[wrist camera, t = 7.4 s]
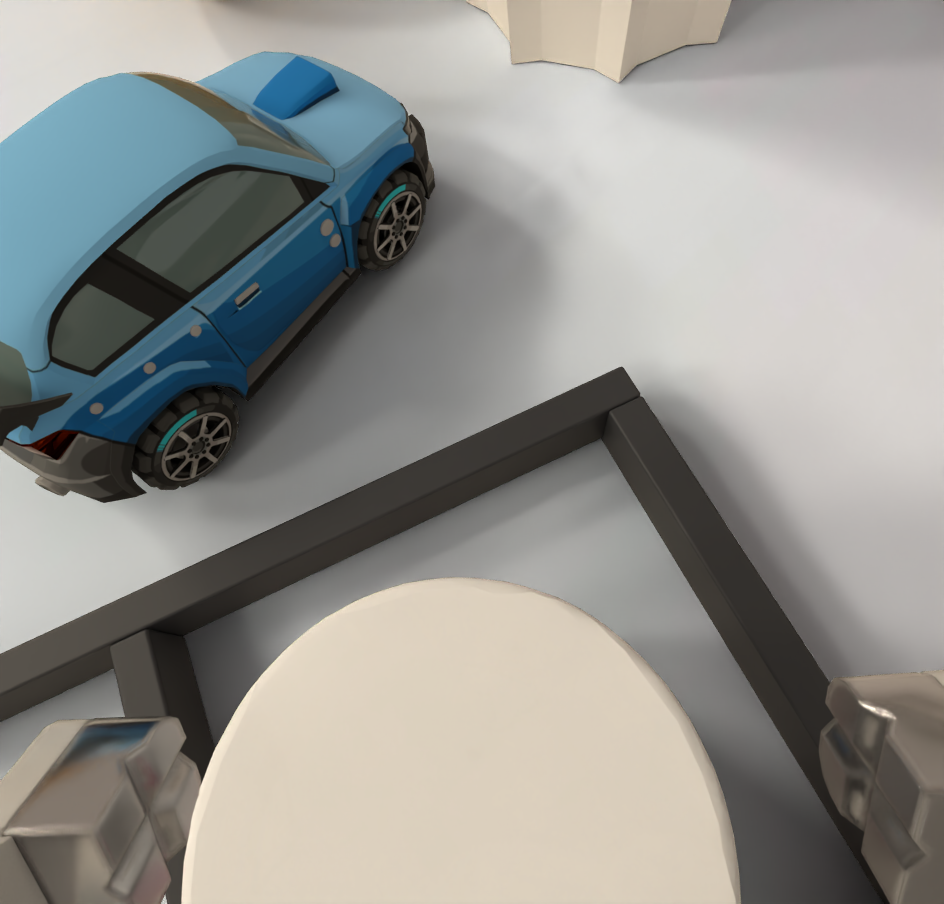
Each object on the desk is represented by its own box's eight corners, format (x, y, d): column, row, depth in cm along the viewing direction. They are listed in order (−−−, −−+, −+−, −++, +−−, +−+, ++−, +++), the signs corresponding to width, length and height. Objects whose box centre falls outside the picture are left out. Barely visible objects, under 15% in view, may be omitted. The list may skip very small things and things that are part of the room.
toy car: (469, 203, 17) (444, -17, 12) (145, 554, 14) (-75, 465, 9) (313, 118, 19) (232, -106, 14) (-6, 417, 16) (-264, 275, 11)
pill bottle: (359, 894, 12) (18, 1262, 4) (392, 625, 13) (203, 507, 6) (627, 926, 11) (852, 1426, 3) (625, 643, 13) (772, 541, 5)
